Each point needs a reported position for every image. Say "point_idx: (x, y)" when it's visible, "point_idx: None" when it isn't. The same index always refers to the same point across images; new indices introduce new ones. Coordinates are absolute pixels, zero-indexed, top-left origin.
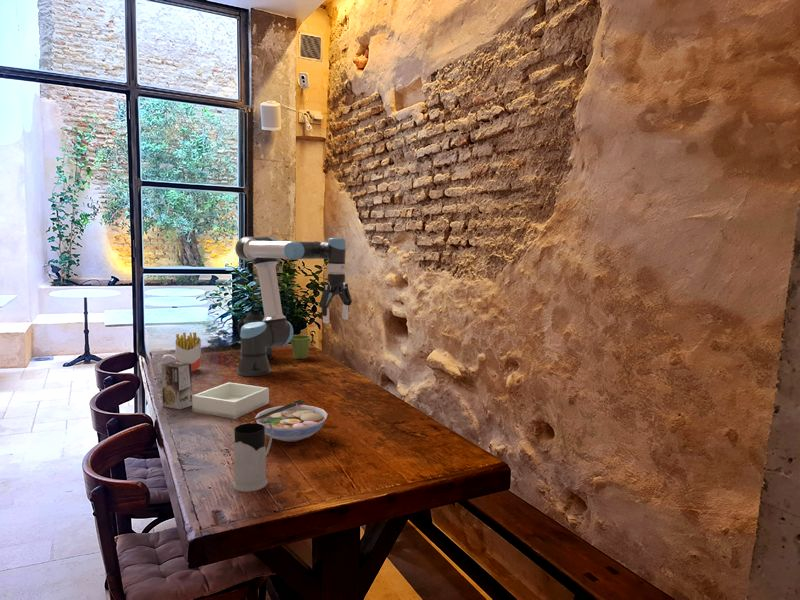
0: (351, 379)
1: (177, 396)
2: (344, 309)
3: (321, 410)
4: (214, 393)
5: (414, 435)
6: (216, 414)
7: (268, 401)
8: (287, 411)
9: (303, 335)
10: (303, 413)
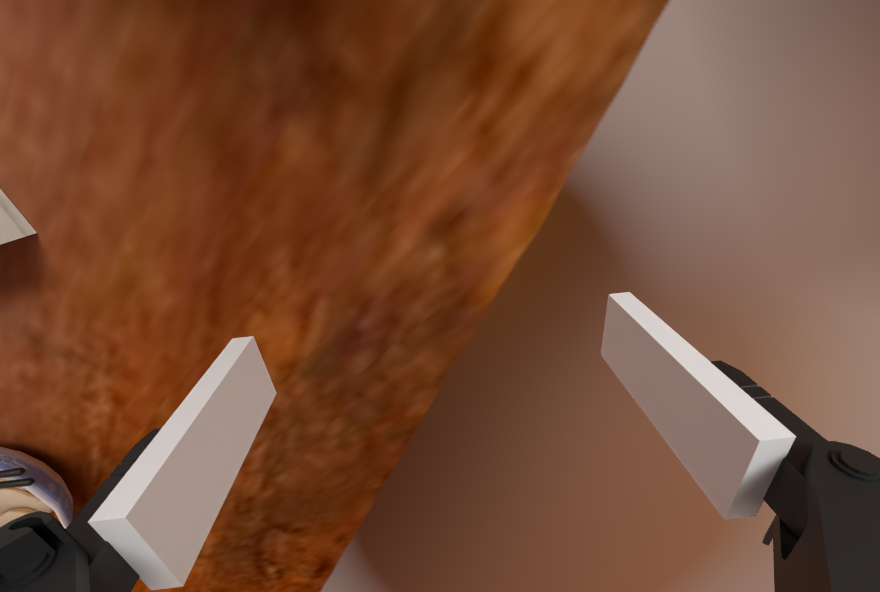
0: (489, 225)
1: None
2: (683, 411)
3: (64, 526)
4: None
5: (261, 569)
6: None
7: (27, 235)
8: None
9: None
10: (12, 510)
